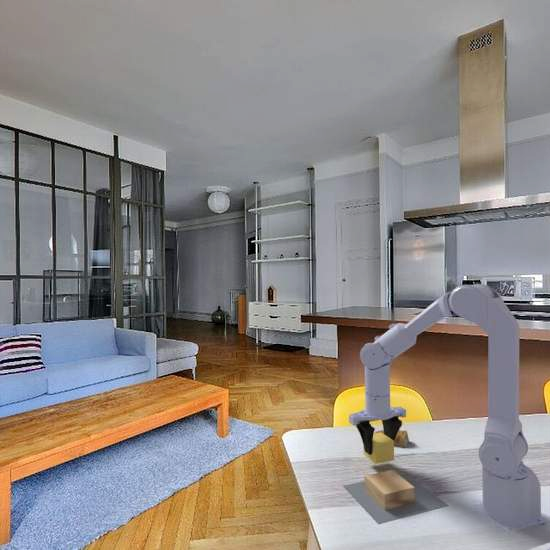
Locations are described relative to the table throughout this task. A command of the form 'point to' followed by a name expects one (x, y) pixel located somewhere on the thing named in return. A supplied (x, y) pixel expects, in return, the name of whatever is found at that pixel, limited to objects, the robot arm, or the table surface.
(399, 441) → the pastry
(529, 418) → the table surface
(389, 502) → the oak block
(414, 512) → the board
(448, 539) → the table surface
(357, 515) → the table surface
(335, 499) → the table surface
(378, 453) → the yellow block
